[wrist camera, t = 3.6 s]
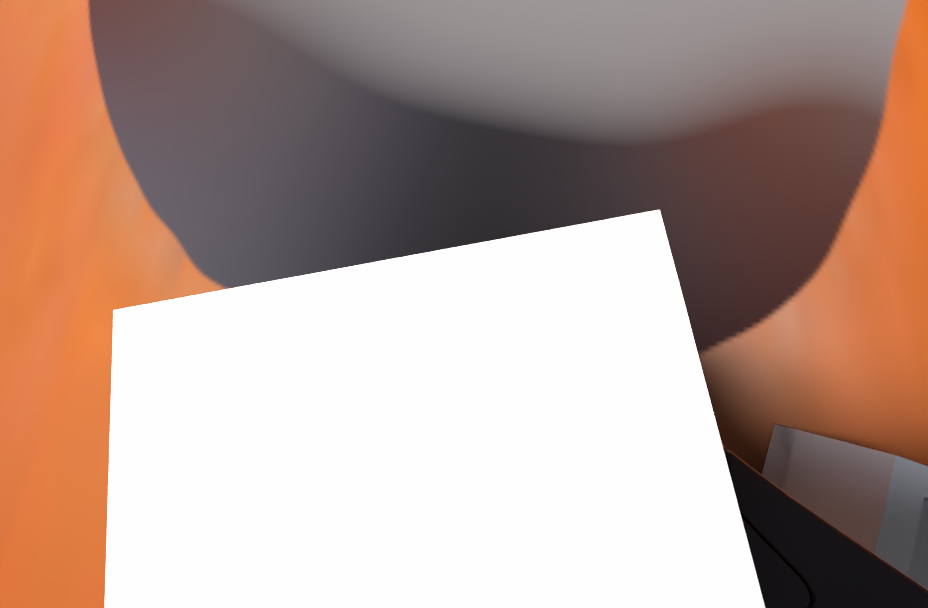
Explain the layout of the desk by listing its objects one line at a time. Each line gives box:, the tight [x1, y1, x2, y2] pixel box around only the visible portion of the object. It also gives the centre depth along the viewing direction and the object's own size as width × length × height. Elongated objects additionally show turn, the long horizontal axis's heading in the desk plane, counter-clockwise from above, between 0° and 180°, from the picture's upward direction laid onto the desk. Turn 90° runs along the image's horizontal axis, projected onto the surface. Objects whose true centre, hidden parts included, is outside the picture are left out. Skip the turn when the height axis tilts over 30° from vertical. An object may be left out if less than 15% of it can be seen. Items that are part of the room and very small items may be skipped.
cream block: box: [105, 210, 765, 608], centre depth 8 cm, size 5×5×12 cm
